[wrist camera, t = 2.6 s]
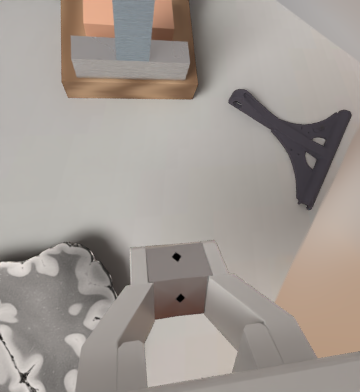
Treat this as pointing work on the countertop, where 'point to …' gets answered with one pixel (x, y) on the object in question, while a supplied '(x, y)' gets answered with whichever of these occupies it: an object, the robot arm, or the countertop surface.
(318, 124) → the bracket
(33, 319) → the brain slice
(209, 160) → the countertop surface
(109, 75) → the scraper
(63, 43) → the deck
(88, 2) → the tile
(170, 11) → the tile
